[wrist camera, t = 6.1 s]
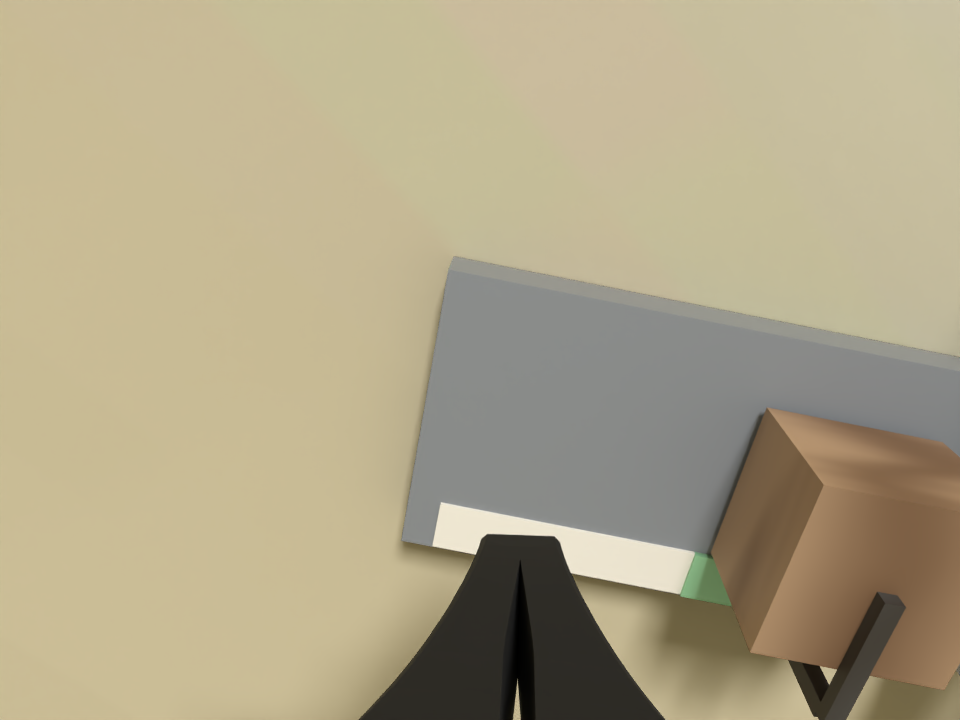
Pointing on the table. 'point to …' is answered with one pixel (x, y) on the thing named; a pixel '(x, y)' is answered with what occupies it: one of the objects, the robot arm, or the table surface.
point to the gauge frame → (631, 418)
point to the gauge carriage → (845, 556)
